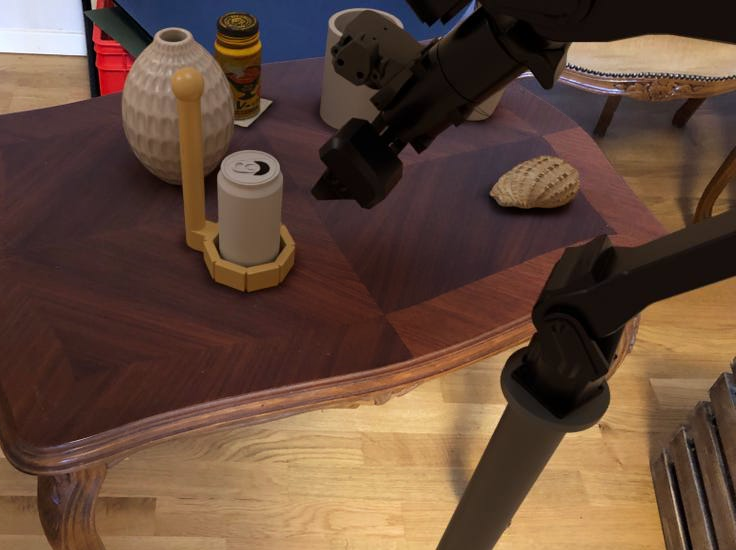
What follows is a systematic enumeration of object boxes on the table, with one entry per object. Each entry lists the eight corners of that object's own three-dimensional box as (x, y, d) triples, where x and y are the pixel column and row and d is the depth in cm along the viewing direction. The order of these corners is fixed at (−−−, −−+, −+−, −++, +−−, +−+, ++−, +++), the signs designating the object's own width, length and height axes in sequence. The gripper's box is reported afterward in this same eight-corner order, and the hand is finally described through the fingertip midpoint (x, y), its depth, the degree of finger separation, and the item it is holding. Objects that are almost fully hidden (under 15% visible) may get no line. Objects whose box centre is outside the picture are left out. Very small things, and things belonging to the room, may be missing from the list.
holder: (304, 248, 78) (321, 76, 63) (269, 301, 73) (278, 127, 58) (204, 214, 82) (197, 43, 66) (163, 262, 76) (145, 89, 61)
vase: (247, 193, 84) (249, 57, 72) (140, 210, 82) (122, 72, 69) (220, 134, 92) (217, 2, 79) (121, 148, 90) (102, 14, 77)
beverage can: (278, 281, 75) (284, 187, 66) (217, 279, 75) (215, 185, 66) (278, 241, 79) (284, 147, 70) (220, 239, 79) (218, 145, 70)
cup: (385, 136, 93) (402, 46, 84) (316, 128, 94) (325, 38, 84) (388, 99, 99) (404, 11, 89) (323, 93, 99) (332, 5, 90)
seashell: (528, 246, 84) (591, 190, 84) (528, 217, 78) (595, 158, 79) (480, 211, 88) (540, 158, 88) (477, 182, 82) (541, 125, 83)
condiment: (247, 128, 93) (248, 38, 84) (192, 110, 96) (187, 21, 87) (272, 103, 97) (276, 14, 88) (219, 86, 100) (217, -2, 91)
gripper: (444, -58, 58) (328, 60, 70) (339, 32, 47) (224, 151, 60) (526, 52, 60) (399, 147, 72) (443, 161, 49) (311, 250, 62)
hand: (337, 170), depth 66 cm, fingers open, 9 cm apart
